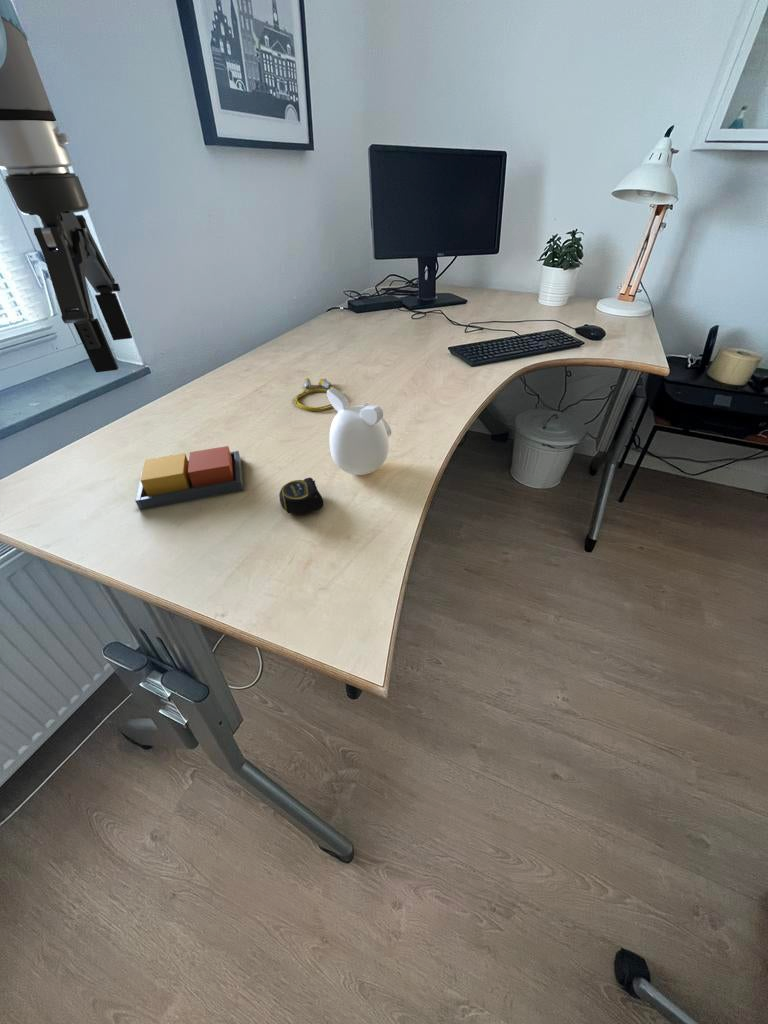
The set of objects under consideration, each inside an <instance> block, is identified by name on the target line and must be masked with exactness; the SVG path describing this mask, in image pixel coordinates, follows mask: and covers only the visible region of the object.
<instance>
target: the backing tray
mask: <svg viewBox="0 0 768 1024" xmlns="http://www.w3.org/2000/svg"><path fill="white" fill-rule="evenodd" d="M230 454H231V457H232V460H233V466H234V481H230V482H224V483H219V484H213V485H208V486H202V487H197V488H194V487H193V485H192V482H191V485H190V489H185V490H180V491H174V492H169V493H163V494H158V495H152V496H147V494H146V492H145V490H144V487H143V485H142V483H141V481H140V480H141V478H140V479H139V484H138V487H137V493H136V496H135V503H136V505H137V507H138V510H139V511H141V510H147V509H151V508H152V509H153V508H156V507H163V506H169V505H173V504H179V503H185V502H190V501H195V500H200V499H201V500H202V499H205V498H211V497H216V496H223V495H227V494H233V493H238V492H243V491H244V482H243V481H244V480H243V471H242V470H243V469H242V458H241V456H240V451H239V450H236V451H235V450H234V451H230ZM187 459H188V462H189V458H187ZM142 471H143V469H142V470H141V472H142ZM141 476H142V473H141V475H140V477H141Z"/></svg>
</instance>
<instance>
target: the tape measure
mask: <svg viewBox="0 0 768 1024" xmlns="http://www.w3.org/2000/svg"><path fill="white" fill-rule="evenodd" d="M317 487H318V486H317V485H316V480H314V478H312V477H306V478H304V479H296V480H295V479H294V480H291V481H289V482H287V483H286V484H283V486H282V487H281V488H280V491H279V494H278V497H279V498H278V499H279V503H280V506H281V508H282V509H283V510H284V511H285V512H286V513H287V514H290V515H293V516H305V515H307V514H311V513H312V512H314V511H315V512H316V511H319V510H321V509H322V508H324V505H325V503H324V498H323V496H322V495H321V493H320V492H319V490H318V488H317Z"/></svg>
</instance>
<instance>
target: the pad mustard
mask: <svg viewBox="0 0 768 1024" xmlns="http://www.w3.org/2000/svg"><path fill="white" fill-rule="evenodd" d="M188 459H189V458H188V456H187V454H186V453H185V452H183V453H178V454H177V453H176V454H171V455H165V456H159V457H153V458H146V459H144V463H143V466H142V470H143V471H142V470H141V474H142V476H141V475H140V479H141V480H140V479H139V482H140V481H141V483H142V485H143V487H144V490H145V492H146V494H147V496H152V495H158V494H163V493H169V492H174V491H180V490H185V489H190V485H191V479H190V477H189V474H188V466H189V462H188Z"/></svg>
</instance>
